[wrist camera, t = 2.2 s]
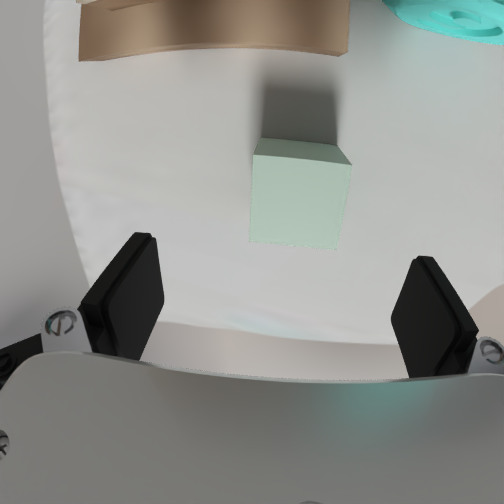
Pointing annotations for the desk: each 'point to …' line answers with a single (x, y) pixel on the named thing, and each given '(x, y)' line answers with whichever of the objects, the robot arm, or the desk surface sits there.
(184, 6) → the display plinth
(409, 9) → the decorative dice
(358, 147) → the desk surface
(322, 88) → the desk surface
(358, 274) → the desk surface
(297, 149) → the sage block
